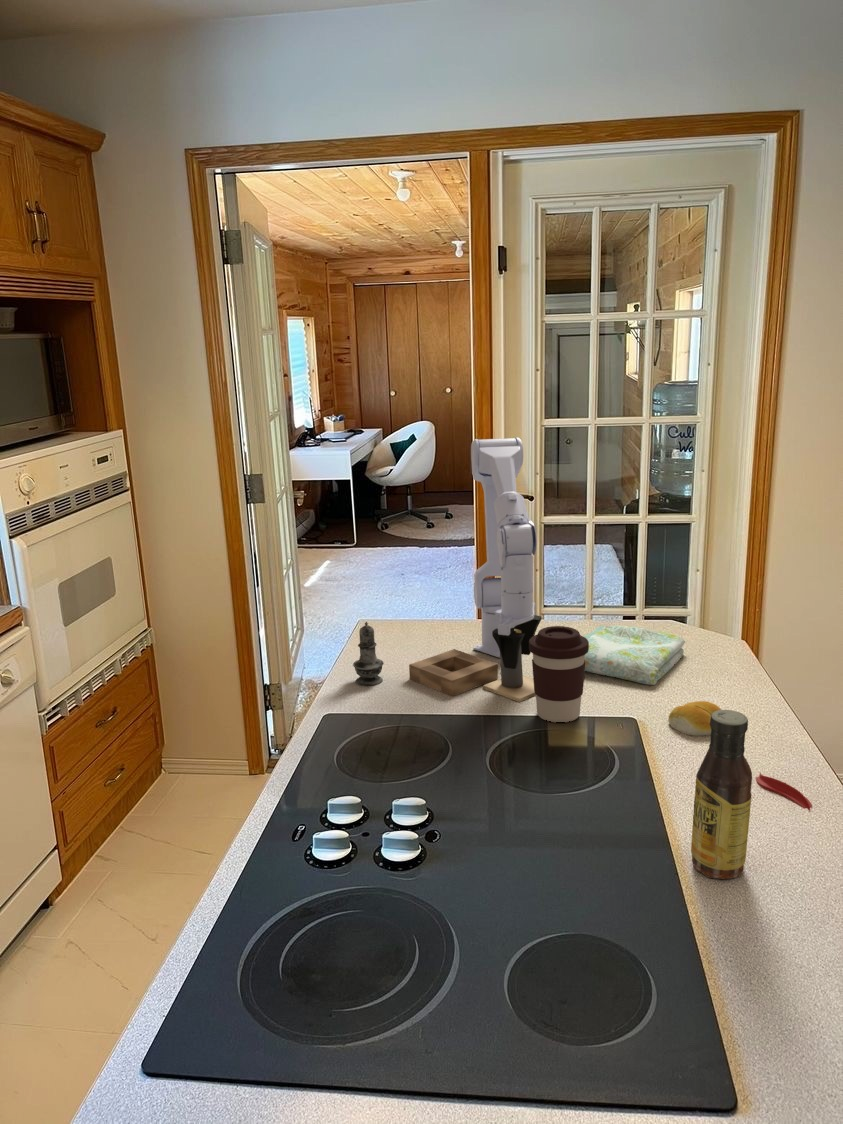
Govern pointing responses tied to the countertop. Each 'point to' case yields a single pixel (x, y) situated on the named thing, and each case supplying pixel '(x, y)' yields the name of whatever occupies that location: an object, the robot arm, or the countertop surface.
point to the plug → (512, 672)
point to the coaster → (513, 689)
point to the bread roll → (693, 718)
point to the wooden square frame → (443, 679)
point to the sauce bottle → (722, 799)
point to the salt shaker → (368, 659)
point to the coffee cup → (558, 672)
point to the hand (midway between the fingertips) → (517, 660)
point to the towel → (632, 653)
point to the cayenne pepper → (784, 790)
